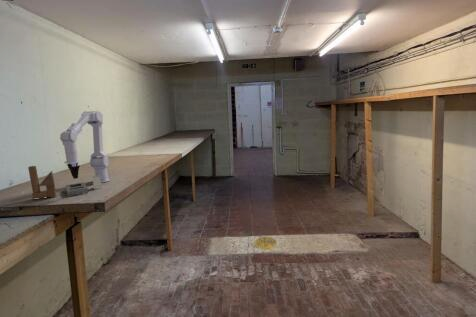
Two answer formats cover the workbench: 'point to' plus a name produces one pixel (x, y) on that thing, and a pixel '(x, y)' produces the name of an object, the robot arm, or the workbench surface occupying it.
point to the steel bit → (96, 182)
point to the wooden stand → (46, 182)
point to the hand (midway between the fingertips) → (75, 177)
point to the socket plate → (76, 189)
